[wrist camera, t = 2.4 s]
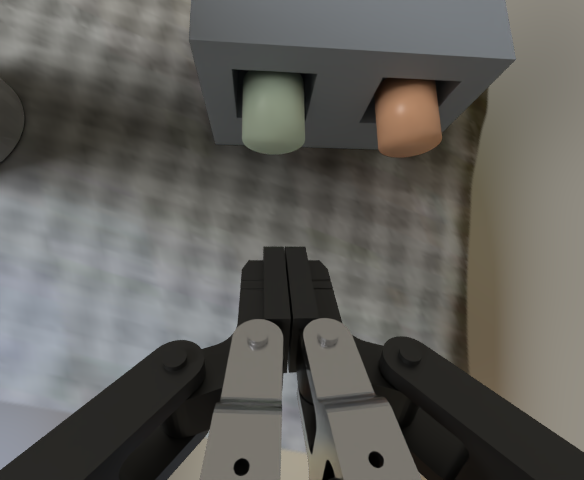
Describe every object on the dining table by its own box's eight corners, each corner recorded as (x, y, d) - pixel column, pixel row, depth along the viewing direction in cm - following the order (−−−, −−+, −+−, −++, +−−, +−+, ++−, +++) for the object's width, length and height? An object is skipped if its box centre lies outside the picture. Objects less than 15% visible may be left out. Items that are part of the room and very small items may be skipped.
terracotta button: (423, 158, 25) (454, 129, 21) (370, 156, 24) (391, 126, 20) (418, 108, 25) (447, 71, 22) (366, 106, 25) (386, 68, 21)
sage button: (301, 155, 24) (309, 124, 20) (243, 153, 23) (240, 121, 19) (300, 104, 25) (307, 64, 21) (244, 101, 24) (241, 61, 20)
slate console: (423, 150, 30) (515, 59, 19) (215, 144, 28) (189, 39, 17) (415, 71, 32) (495, -53, 21) (218, 60, 30) (195, -82, 19)
